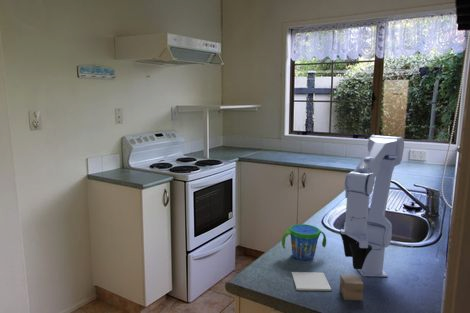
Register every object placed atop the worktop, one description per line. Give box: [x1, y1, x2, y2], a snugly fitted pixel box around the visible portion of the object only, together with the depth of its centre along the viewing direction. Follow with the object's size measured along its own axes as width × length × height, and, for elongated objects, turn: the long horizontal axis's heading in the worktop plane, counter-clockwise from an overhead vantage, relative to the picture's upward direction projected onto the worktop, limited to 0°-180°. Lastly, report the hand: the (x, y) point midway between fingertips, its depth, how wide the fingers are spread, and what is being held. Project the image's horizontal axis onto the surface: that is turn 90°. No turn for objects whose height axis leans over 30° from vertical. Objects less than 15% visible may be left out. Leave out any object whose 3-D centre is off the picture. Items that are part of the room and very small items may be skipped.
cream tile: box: [291, 271, 332, 292], centre depth 111 cm, size 10×10×1 cm
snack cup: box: [281, 223, 327, 261], centre depth 128 cm, size 16×10×10 cm
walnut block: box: [339, 274, 365, 301], centre depth 104 cm, size 5×5×5 cm
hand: (353, 262), depth 102 cm, fingers open, 7 cm apart
